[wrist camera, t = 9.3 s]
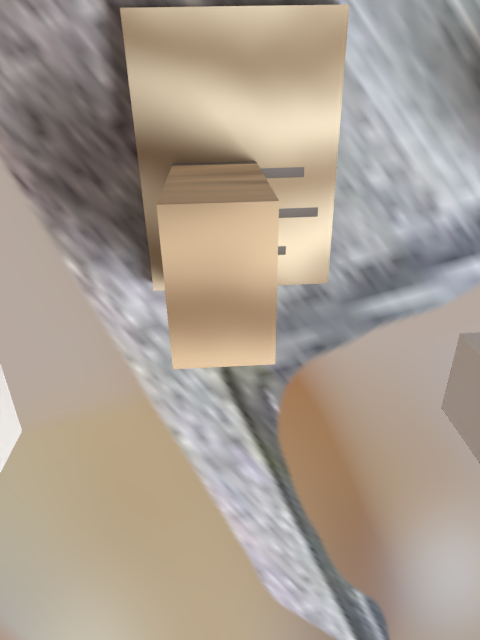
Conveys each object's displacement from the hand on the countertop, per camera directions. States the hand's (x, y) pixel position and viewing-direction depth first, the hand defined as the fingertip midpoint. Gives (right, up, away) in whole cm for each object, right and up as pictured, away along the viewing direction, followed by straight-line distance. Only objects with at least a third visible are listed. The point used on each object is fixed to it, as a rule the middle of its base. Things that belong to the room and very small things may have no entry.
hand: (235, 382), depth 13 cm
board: (0, +12, +15) cm, 19 cm away
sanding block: (-1, +8, +16) cm, 18 cm away
